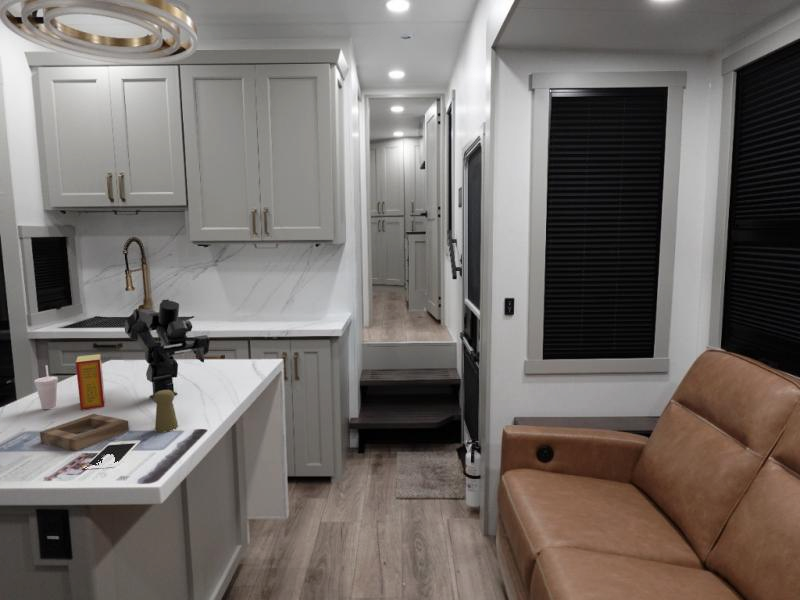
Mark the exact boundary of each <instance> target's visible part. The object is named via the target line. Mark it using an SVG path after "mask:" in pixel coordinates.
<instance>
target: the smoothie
mask: <svg viewBox="0 0 800 600" xmlns="http://www.w3.org/2000/svg"><path fill="white" fill-rule="evenodd" d="M44 366H45V373H46V376H44V377H41V378H40V377H39V378H37V379H35V380H34V381H33V382H34V383H33V384H34V385H35V386H36V390H37V394H38V398H39V401H40V405H41V409H42V410H43V409H50V410H52V409H51V408H54V407H56V408H57V399H58V398H57V397H58V394H57V393H58V392H57V391H58V381H59V377H58V376H52V375H51V376H50V375H49V367H48V364H46V365H44ZM54 409H55V408H54Z"/></svg>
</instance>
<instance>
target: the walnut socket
mask: <svg viewBox="0 0 800 600" xmlns="http://www.w3.org/2000/svg"><path fill="white" fill-rule="evenodd" d="M89 428H90V429H92V430H89ZM94 428H95V429H94ZM86 429H87V430H88V431H87V430H86ZM83 430H85V432H84V431H83ZM81 431H82V432H83V433H82V432H81ZM78 432H79V433H80V434H78ZM127 432H130V427H129V420H127V419H123V418H122V419H121V418H116V417H113V416H112V417H111V416H108V415H107V416H106V415H102V414H97V413H91V414H88V415H86V416H82V417H79V418H77V419H74V420H73V419H72V420H70V421H67V422H65V423H62V424H58V425H55V426H52V427H51V428H47V429H43V430H40V431H39V436H40V437H39V438H40V443H41V442H42V444H45V443H46V444H45V445H49V444H50V445H49V446H53V445H54V447H57V446H58V447H57V448H61V447H62V449H65V448H66V450H69V449H70V451H73V450H74V451H73V452H79V451H81V449H82V450H84V449H87V448H88V447H91V446H94V445H97V444H100V443H102V442H104V441H107V440H109V439H112V438H115V437H117V436H119V434H120V435H122V434H125V433H127ZM75 433H76V434H75ZM116 435H117V436H116ZM114 436H115V437H114ZM111 437H112V438H111ZM106 439H107V440H106ZM101 441H102V442H101ZM86 447H87V448H86ZM83 448H84V449H83ZM78 450H79V451H78Z"/></svg>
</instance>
